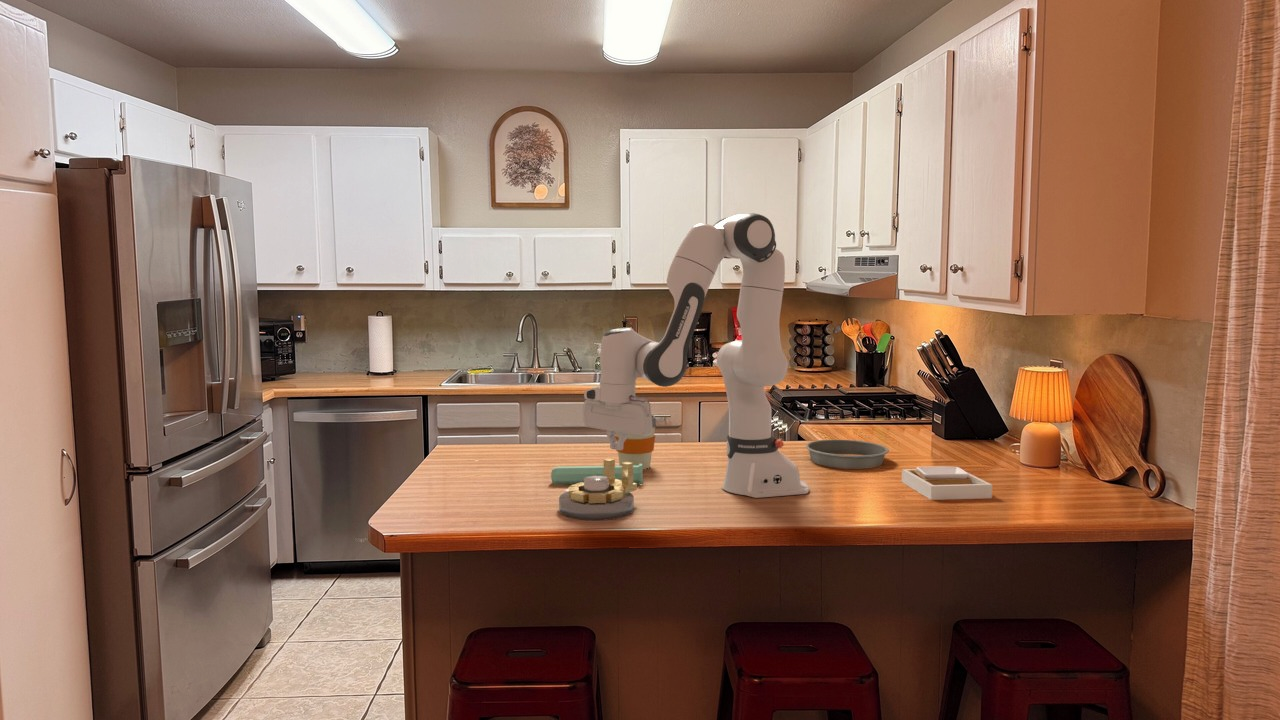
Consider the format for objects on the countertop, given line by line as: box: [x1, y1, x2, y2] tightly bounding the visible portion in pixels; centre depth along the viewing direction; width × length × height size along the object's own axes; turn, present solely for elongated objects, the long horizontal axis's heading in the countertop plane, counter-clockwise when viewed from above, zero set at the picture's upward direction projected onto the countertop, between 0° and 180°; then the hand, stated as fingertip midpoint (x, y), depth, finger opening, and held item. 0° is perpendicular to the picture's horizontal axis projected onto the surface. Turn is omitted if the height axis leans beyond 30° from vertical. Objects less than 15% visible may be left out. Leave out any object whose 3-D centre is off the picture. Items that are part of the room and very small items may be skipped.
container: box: [550, 464, 644, 485], centre depth 222 cm, size 6×6×25 cm
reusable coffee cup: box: [615, 414, 657, 470], centre depth 241 cm, size 12×13×15 cm
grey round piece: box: [558, 476, 635, 521], centre depth 197 cm, size 18×18×8 cm
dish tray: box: [901, 468, 993, 501], centre depth 215 cm, size 16×18×4 cm
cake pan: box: [805, 439, 890, 470], centre depth 249 cm, size 25×25×4 cm
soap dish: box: [914, 465, 972, 485], centre depth 217 cm, size 12×10×5 cm
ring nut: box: [568, 458, 638, 503], centre depth 198 cm, size 17×13×7 cm
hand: (616, 449), depth 202 cm, fingers closed
